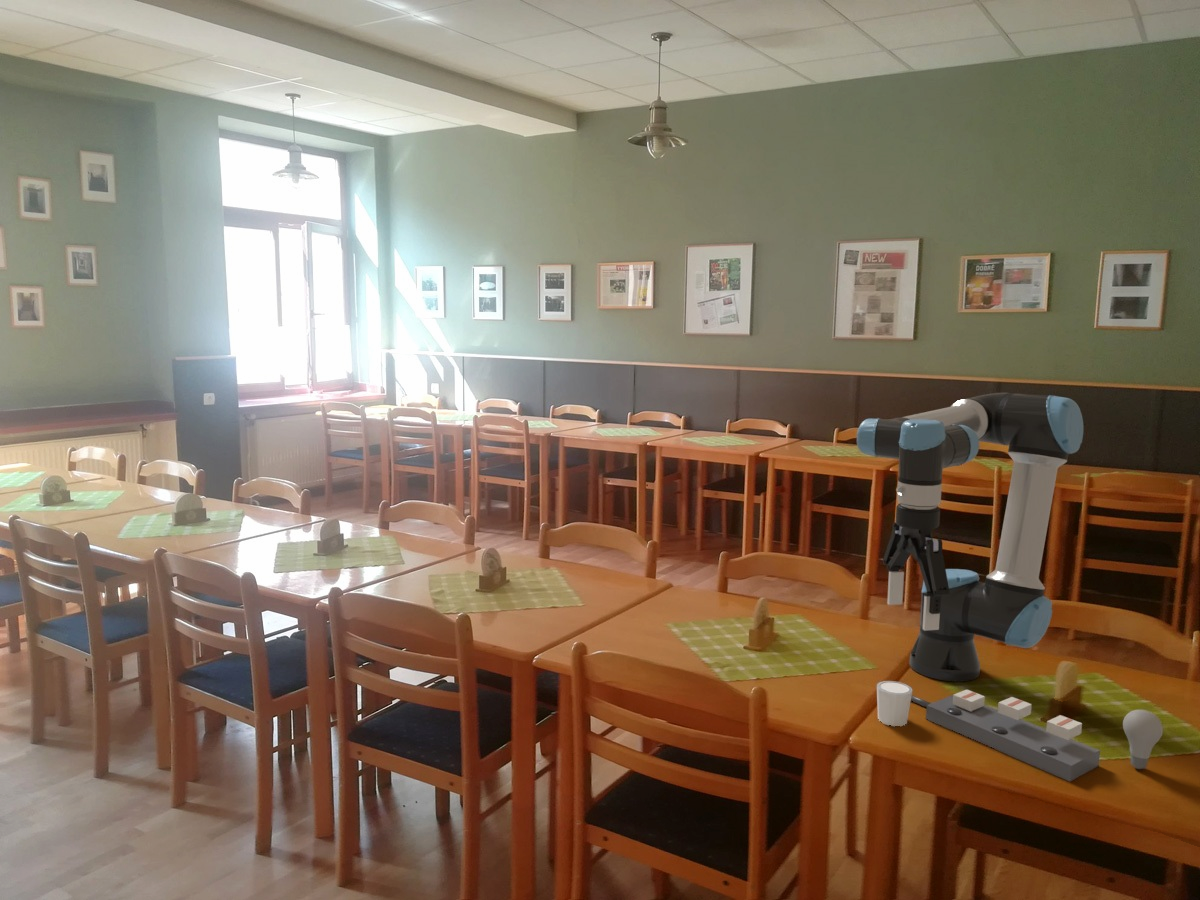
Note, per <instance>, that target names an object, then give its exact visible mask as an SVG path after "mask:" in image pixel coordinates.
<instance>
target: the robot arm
mask: <svg viewBox="0 0 1200 900" xmlns="http://www.w3.org/2000/svg"><path fill="white" fill-rule="evenodd" d="M1083 436H1084V419H1083V415H1082V412H1081V409H1080V407H1079V405H1078V403H1077V402H1076V401H1075V400H1073V399H1072V398H1069V397H1063V396H1058V395H1050V394H1049V395H1048V394H1047V395H1046V394H1030V393H1029V394H1027V393H1026V394H1025V393H1011V392H995V393H994V392H993V393H986V394H981V395H977V396H973V397H967V398H963V399H960V400H957V401H955V402H954V403H952V404H951V405H950V406H948V407H944V408H938V409H934V410H930V411H929V410H928V411H926V412H925V411H924V412H919V413H915V414H911V415H906V416H901V417H895V418H891V419H885V418H884V419H882V418H879V417H877V418H866V419H864V420H863V421H861V423H860V424H859V427H858V428H857V432H856V445H857V448H858V450H859V451H860V452H861V453H862V454H863V455H868V456H872V457H875V458H878V457H879V458H886V459H893V460H898V475H897V476H898V478H897V487H896V489H895V491H896V493H897V495H896V496H897V498H896V501H897V502H898V503H897V505H896V507H895V510H896V511H895V522H893V523H892V530H891V535H890V537H889V540H888V544H887V547H886V550H885V553H884V556H883V559H882V563H883V565H886V569H887V570H888V581H887V582H888V583H887V584H888V585H887V602H886V604H887V605H888V606H897V605H900V606H902V605H903V597H904V579H905V578H904V577H905V571H903V570H906V569H905V564H907V561H908V559H909V557H910V556H913V558H914V561H915V562H917V563H918V566H919V570H920V573H921V576H922V579H923V582H922V589H921V591H920V592H921V602H920V618H919V619H920V620H919V631H918V632H919V633H918V635H917V638H916V640H915V643H914V644H913V647H912V649H911V652H910V653H909V654H910V655H909V666H910V668H911V669H912V671H915V672H916V673H917V674H919V675H922V676H924V677H928V678H931V679H935V680H940V681H947V682H969V681H973V680H975V679H977V678H978V677H979V676H980V671H981V664H980V663H981V662H980V659H979V655H978V651H977V648H976V645H975V635H976V636H979V637H982V638H986V639H990V640H994V641H997V642H1001V643H1004V644H1006V645H1007V646H1014V647H1020V648H1022V649H1023V648H1024V649H1027V648H1028V649H1029V648H1032V647H1034V646H1036V645H1037V644H1038V643H1039V642H1040V641H1041V640H1042V638H1043V637H1044V635H1045V634H1046V632H1047V630H1048V628H1049V626H1050V622H1051V620H1052V616H1053V615H1052V614H1053V608H1052V607H1053V603H1052V602H1053V601H1052V600H1051V599H1050V598H1048V597H1047V596H1045V594H1044V593H1045V589H1046V587H1045V586H1044V584H1043V583H1042V581H1041V580H1040V572H1041V566H1042V560H1043V556H1044V555H1043V554H1044V551H1045V550H1044V548H1045V542H1046V536H1047V532H1048V527H1049V520H1050V516H1051V508H1052V503H1053V496H1054V492H1055V487H1056V480H1057V474H1058V469H1059V468H1060V467H1061V466H1063V465H1064V464H1066V463H1067V462H1068V459H1069V455H1072V454H1075V453H1077V452H1078V451H1079V449H1080V447H1081V445H1082V443H1083V439H1084V438H1083ZM981 442H982V443H990V444H995V445H1002V446H1008V450H1007V451H1008V452H1007V454H1008V455H1009V457H1010V458H1011V459H1012V461H1013V466H1012V472H1011V478H1010V483H1009V489H1008V494H1007V501H1006V506H1005V512H1004V517H1003V523H1002V529H1001V535H1000V539H999V547H998V553H997V559H996V564H995V568H994V570H993V571H992V572H990V573H989V574H987V575H986V577H985V582H983V581H979V580H980V577H979V574H978V573H977V572H976V571H973V570H969V569H961V568H946V565H945V559H944V554H943V540H942V539H941V538H933V530H935V529H938V527H940V519H941V518H940V517H941V508H940V507H939V506H940V504H942V488H943V487H942V485H943V483H942V482H943V481H942V480H943V470H944V469H946V468H952V467H960V466H962V465H964V464H966V463H968V462H970V461H972V460H973V459H975V458H976V456H977V455H978V453H979V448H980V443H981Z"/></svg>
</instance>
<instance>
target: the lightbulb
mask: <svg viewBox="0 0 1200 900" xmlns="http://www.w3.org/2000/svg"><path fill="white" fill-rule="evenodd" d="M1122 727H1123V731H1124V734H1125V736H1126V738H1127V740H1128V746H1129V753H1130V764H1131V766H1133V767H1134V769H1137V770H1142V769H1143V770H1144V769H1146V768H1147V766H1148V761H1149V758H1150V757H1151V753H1152V750H1153V748H1154V746H1155V745H1156V744H1157V743H1158V742H1159V741H1160V740H1161V738H1162V736H1163V731H1164V727H1163V724H1162V721H1161V720H1160V719H1159V717H1158V716H1157V715H1156V714H1154V712H1153V713H1152V712H1151V711H1149V710H1147V709H1134V710H1132V711H1129V712H1128V713H1127V714H1126V715H1125V716H1124V718H1123V721H1122Z"/></svg>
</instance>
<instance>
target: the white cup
mask: <svg viewBox="0 0 1200 900" xmlns="http://www.w3.org/2000/svg"><path fill="white" fill-rule="evenodd" d="M912 695H913V688H912V687H911V686H909V685H908V684H906V683H904V682H900V681H893V680H883V681H879V682H878V683H876V704H877V705H876V707H877V720H878V719H879V720H878V721H879V722H880V721H881V722H882V723H881V722H880V723H881V724H883V725H887V726H889V725H891V726H890V727H895V726H900V727H903V725H904V726H906V725H907V724H908V719H909V713H910V712H909V711H910V707H911V702H912V701H911V696H912ZM905 724H906V725H905Z"/></svg>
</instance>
